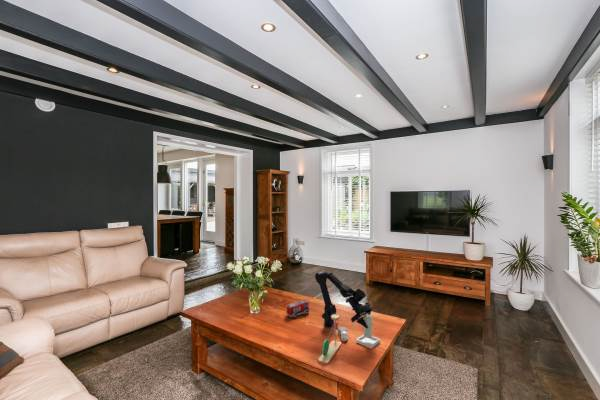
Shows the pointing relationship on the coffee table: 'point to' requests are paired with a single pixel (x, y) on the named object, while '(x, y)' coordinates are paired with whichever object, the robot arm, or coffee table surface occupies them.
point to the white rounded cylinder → (344, 336)
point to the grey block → (341, 330)
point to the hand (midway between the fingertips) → (369, 326)
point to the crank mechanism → (330, 345)
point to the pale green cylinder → (369, 323)
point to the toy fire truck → (298, 308)
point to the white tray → (368, 341)
